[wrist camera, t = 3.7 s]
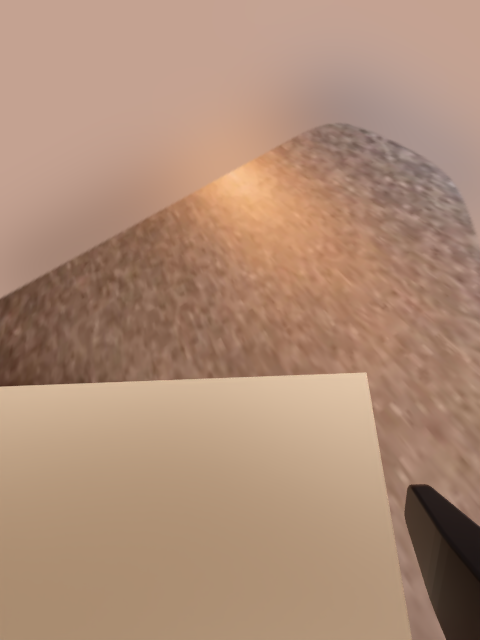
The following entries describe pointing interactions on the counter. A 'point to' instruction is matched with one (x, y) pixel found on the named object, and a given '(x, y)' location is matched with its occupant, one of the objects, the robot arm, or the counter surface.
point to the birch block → (196, 512)
